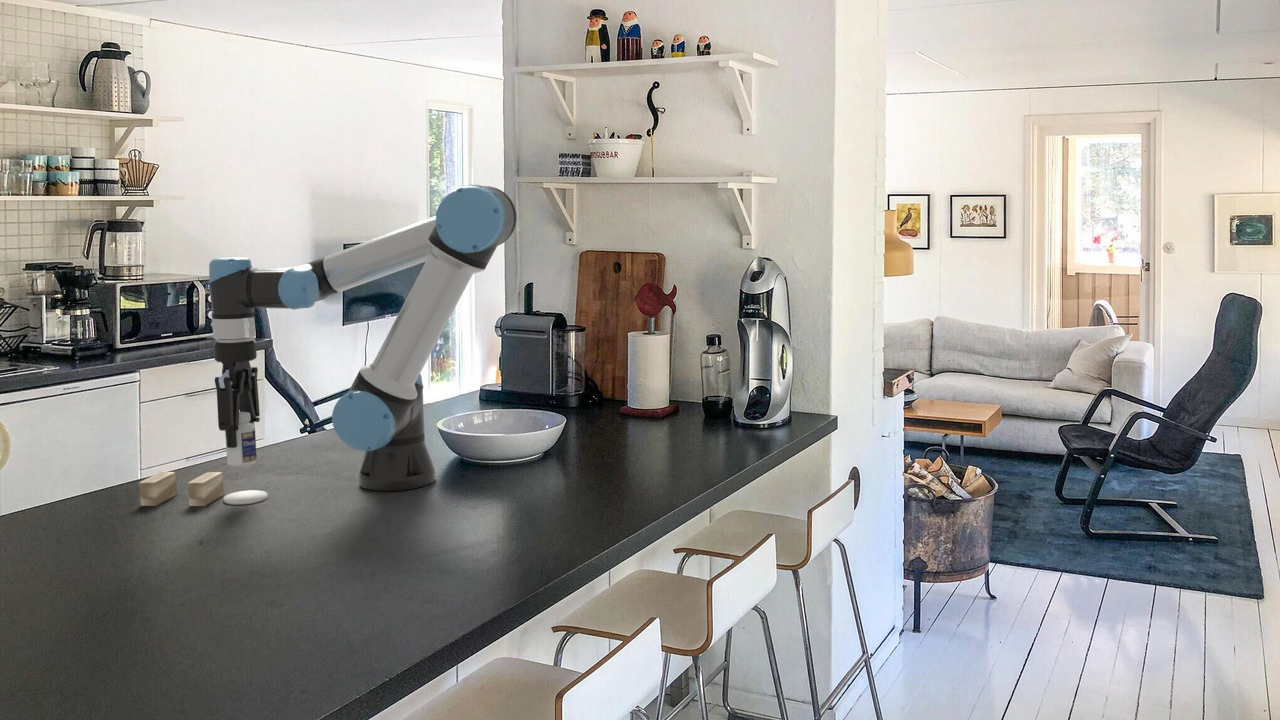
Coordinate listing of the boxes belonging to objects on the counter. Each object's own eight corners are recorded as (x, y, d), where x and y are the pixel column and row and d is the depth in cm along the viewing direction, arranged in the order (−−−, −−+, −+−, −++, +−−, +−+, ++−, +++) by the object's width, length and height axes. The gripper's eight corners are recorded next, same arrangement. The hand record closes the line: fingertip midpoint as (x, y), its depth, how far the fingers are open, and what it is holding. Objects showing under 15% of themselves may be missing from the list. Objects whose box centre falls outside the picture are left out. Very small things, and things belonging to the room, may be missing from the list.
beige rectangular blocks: (223, 494, 211) (222, 472, 210) (204, 506, 203) (203, 482, 202) (162, 494, 212) (160, 472, 211) (140, 505, 204) (138, 482, 203)
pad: (274, 493, 211) (274, 490, 211) (257, 504, 203) (257, 501, 203) (234, 493, 212) (234, 490, 212) (216, 504, 204) (216, 501, 204)
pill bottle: (247, 467, 203) (244, 417, 202) (221, 466, 204) (218, 416, 203) (262, 460, 208) (259, 411, 207) (237, 459, 210) (234, 410, 208)
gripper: (236, 333, 212) (243, 448, 216) (191, 346, 194) (200, 471, 197) (273, 333, 212) (280, 448, 215) (232, 346, 193) (240, 471, 197)
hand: (242, 459), depth 206 cm, fingers closed on pill bottle, 5 cm apart
